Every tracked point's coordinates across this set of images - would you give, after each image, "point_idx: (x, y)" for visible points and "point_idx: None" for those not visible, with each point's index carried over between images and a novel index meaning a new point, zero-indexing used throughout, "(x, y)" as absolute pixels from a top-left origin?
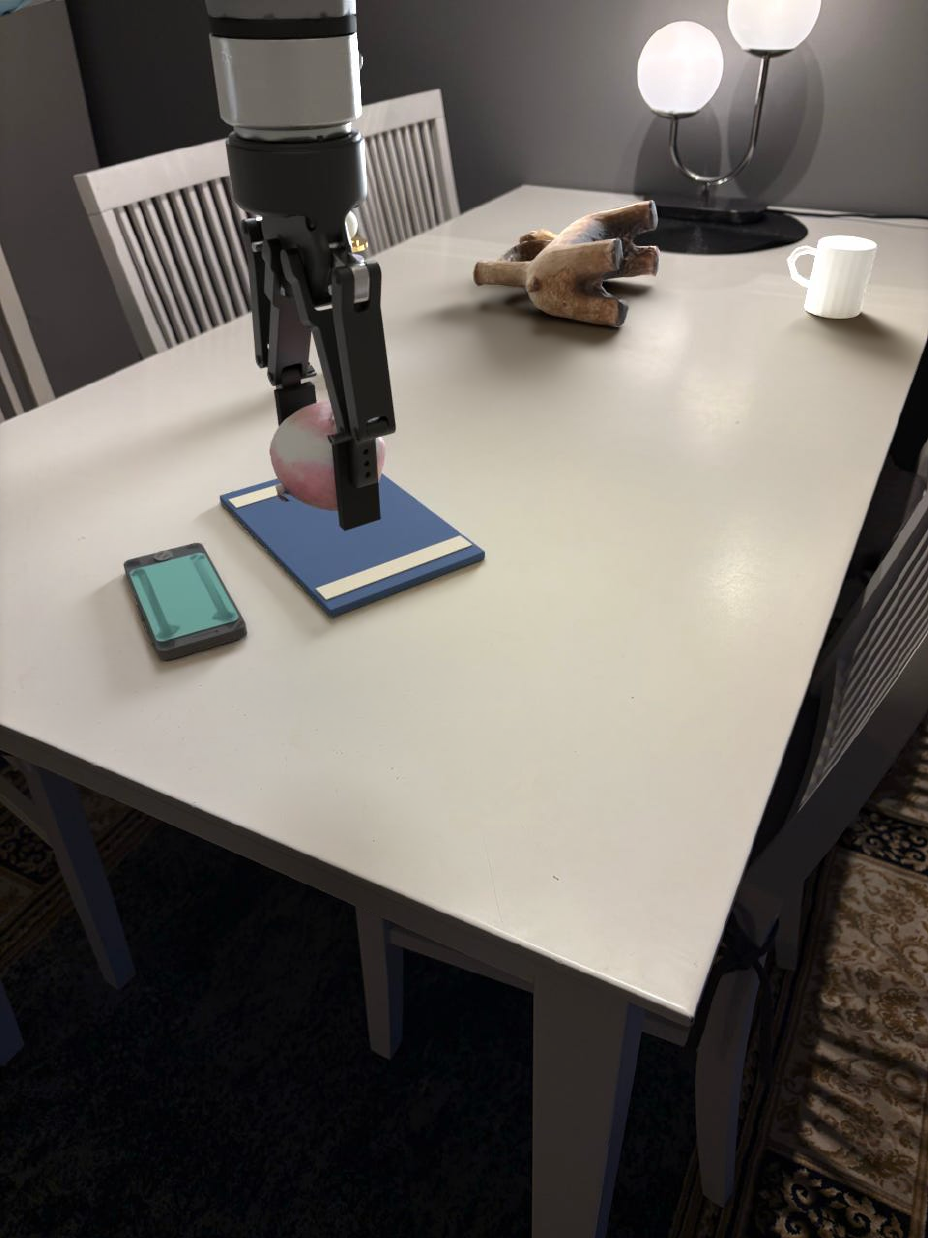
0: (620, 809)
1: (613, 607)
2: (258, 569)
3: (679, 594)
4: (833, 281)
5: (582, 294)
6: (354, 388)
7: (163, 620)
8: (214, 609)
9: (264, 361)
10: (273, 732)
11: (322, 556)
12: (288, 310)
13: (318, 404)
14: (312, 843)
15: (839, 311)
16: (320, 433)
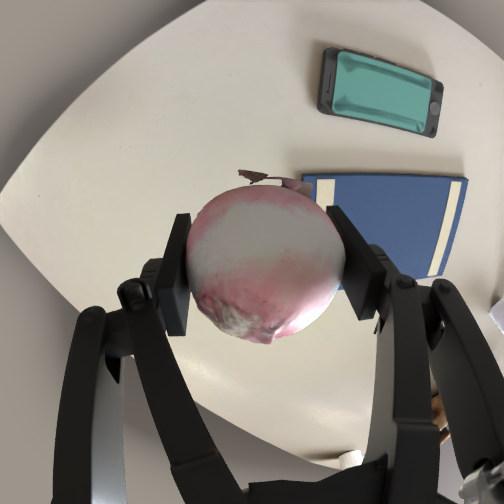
0: (65, 243)
1: (208, 322)
2: (388, 157)
3: (202, 349)
4: (350, 464)
5: (433, 409)
6: (64, 377)
7: (363, 66)
8: (354, 102)
9: (433, 292)
10: (200, 86)
11: (367, 202)
12: (385, 421)
13: (291, 308)
14: (97, 84)
15: (343, 456)
16: (217, 277)
